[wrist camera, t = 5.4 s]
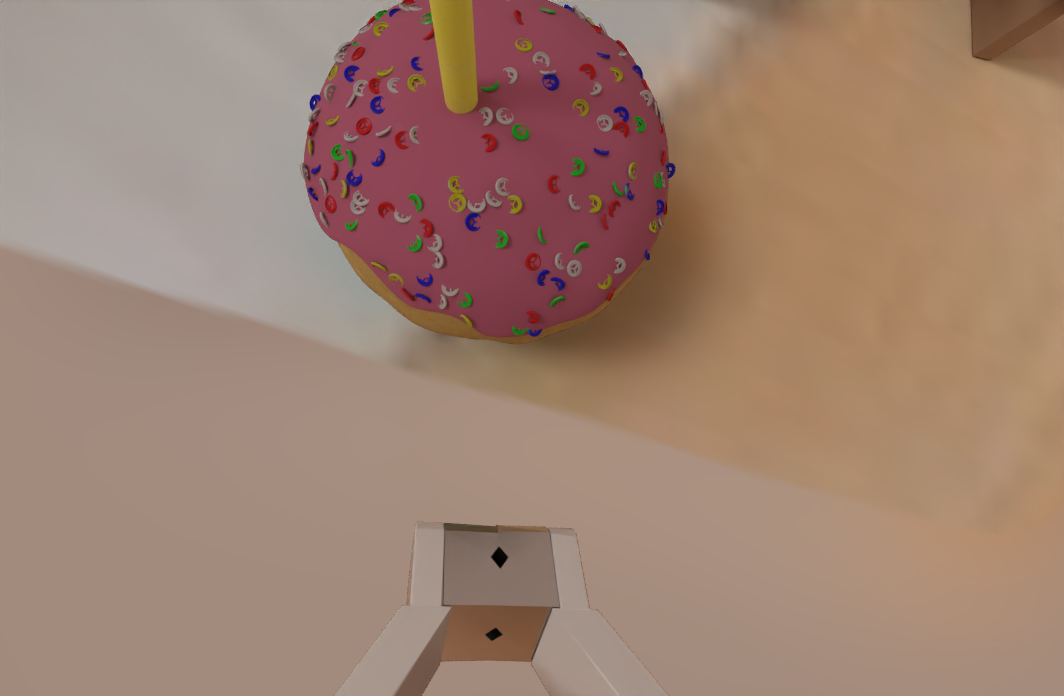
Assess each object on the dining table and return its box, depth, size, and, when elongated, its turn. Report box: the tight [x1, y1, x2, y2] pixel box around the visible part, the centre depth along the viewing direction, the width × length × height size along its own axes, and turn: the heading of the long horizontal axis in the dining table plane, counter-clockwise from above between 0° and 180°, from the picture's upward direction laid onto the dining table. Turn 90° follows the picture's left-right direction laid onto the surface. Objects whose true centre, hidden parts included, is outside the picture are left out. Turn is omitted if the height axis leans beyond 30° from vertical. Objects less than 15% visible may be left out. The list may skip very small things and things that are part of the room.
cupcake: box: [300, 0, 675, 344], centre depth 13 cm, size 9×8×12 cm
